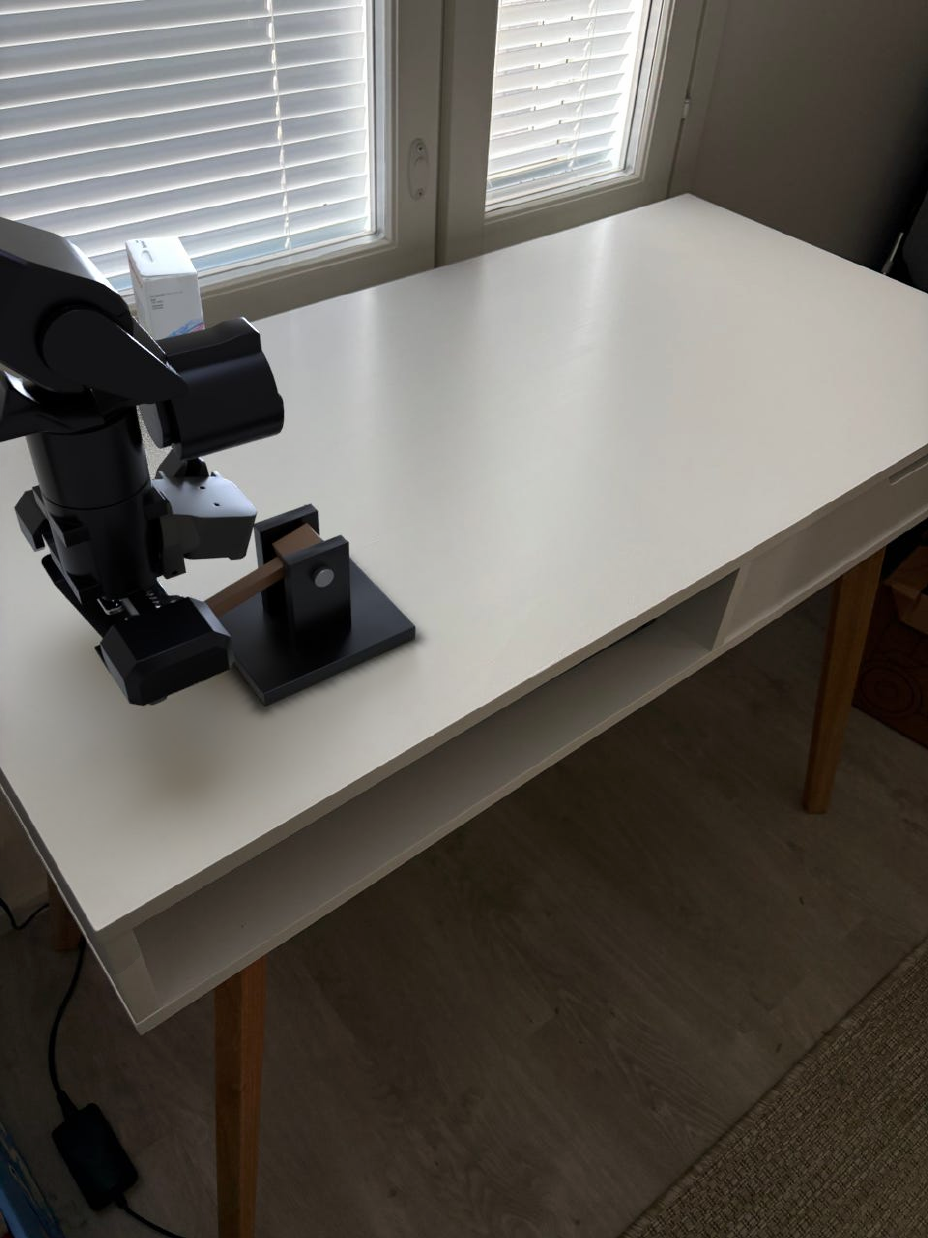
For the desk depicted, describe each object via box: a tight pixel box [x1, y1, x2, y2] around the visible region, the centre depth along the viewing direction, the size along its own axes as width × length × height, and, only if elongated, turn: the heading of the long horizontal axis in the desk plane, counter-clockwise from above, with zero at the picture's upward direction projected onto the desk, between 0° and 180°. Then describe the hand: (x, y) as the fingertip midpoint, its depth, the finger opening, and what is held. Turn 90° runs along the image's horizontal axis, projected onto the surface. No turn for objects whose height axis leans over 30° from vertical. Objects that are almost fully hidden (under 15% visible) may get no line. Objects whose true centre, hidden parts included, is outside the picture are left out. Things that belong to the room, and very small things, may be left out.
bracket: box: [217, 503, 417, 706], centre depth 70 cm, size 12×10×9 cm
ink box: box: [124, 235, 206, 341], centre depth 93 cm, size 8×5×12 cm, turn 25°
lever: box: [202, 523, 324, 618], centre depth 66 cm, size 14×5×2 cm, turn 125°
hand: (141, 675), depth 66 cm, fingers closed on lever, 5 cm apart
